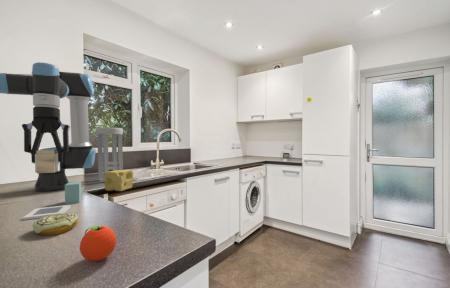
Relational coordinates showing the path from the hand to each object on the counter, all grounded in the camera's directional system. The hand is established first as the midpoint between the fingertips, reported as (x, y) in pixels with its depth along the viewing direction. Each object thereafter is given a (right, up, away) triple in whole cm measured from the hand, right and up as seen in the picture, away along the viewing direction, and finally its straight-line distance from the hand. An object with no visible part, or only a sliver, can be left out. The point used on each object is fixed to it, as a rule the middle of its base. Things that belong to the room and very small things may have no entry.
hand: (47, 171), depth 78 cm
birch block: (0, 0, 0) cm, 0 cm away
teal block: (-1, -15, +15) cm, 21 cm away
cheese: (+6, -15, +40) cm, 43 cm away
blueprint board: (0, -15, 0) cm, 15 cm away
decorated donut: (+15, -16, -15) cm, 26 cm away
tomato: (+36, -15, -31) cm, 50 cm away
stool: (-12, -15, +66) cm, 69 cm away
